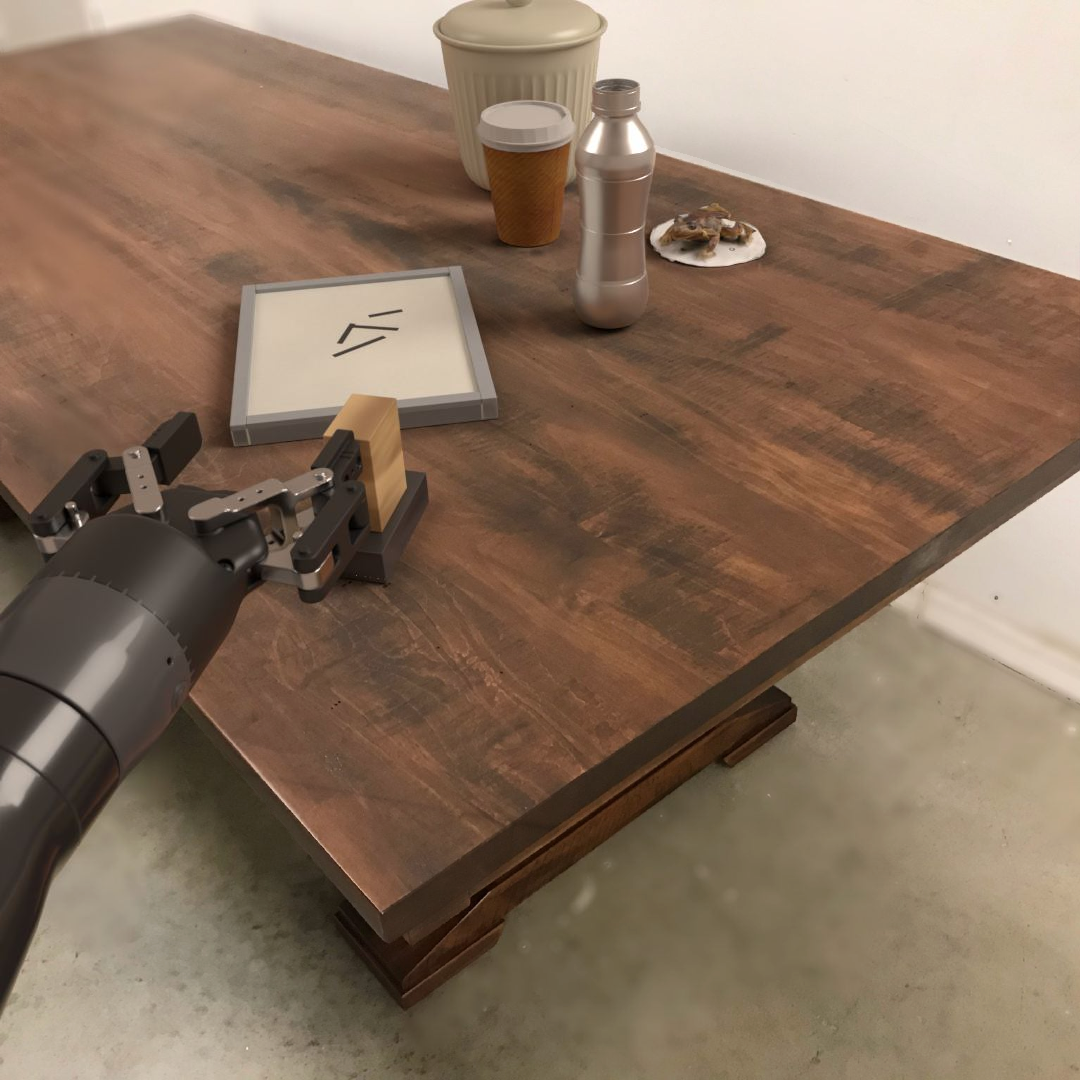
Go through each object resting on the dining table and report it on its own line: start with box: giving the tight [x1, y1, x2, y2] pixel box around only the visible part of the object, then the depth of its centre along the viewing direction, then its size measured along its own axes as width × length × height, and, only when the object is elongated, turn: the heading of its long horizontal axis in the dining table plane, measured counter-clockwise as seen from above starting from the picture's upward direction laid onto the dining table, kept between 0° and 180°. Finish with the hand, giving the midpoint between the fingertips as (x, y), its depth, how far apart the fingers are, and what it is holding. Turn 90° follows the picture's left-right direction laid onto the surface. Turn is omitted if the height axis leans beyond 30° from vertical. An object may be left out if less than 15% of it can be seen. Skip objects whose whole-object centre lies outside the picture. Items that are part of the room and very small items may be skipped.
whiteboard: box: [229, 265, 499, 447], centre depth 92 cm, size 20×24×2 cm
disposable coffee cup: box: [476, 100, 576, 248], centre depth 108 cm, size 10×10×12 cm
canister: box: [432, 0, 609, 192], centre depth 117 cm, size 18×18×21 cm
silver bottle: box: [571, 77, 657, 329], centre depth 91 cm, size 6×7×20 cm
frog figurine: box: [649, 203, 767, 268], centre depth 108 cm, size 12×12×4 cm
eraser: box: [322, 394, 430, 585], centre depth 71 cm, size 4×9×10 cm, turn 167°
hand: (269, 435), depth 56 cm, fingers open, 8 cm apart
